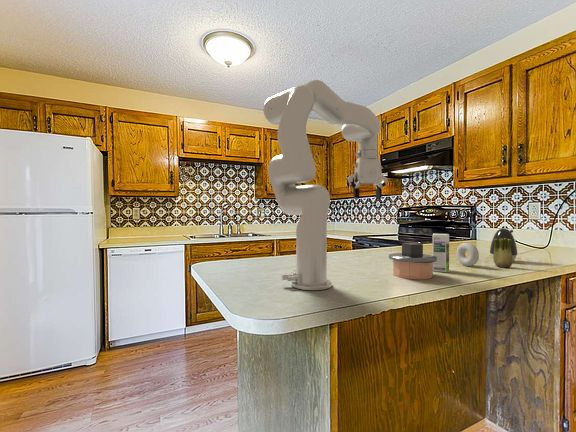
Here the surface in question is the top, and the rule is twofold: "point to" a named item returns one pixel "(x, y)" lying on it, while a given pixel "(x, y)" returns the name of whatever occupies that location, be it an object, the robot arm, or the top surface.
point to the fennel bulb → (503, 253)
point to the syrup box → (441, 252)
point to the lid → (412, 254)
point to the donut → (472, 254)
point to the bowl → (413, 270)
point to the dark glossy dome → (501, 235)
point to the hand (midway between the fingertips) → (367, 198)
